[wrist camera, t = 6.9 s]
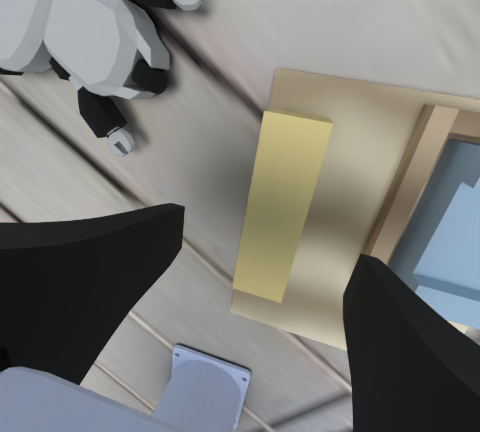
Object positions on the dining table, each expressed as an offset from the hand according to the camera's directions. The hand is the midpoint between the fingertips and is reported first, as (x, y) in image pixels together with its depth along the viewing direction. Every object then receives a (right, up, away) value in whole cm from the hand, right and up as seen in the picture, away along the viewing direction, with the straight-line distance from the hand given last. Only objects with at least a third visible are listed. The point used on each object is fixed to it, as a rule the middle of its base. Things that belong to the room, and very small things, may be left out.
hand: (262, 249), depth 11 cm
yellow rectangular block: (+2, +3, +6) cm, 7 cm away
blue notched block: (+11, +1, +4) cm, 12 cm away
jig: (+7, 0, +7) cm, 10 cm away
